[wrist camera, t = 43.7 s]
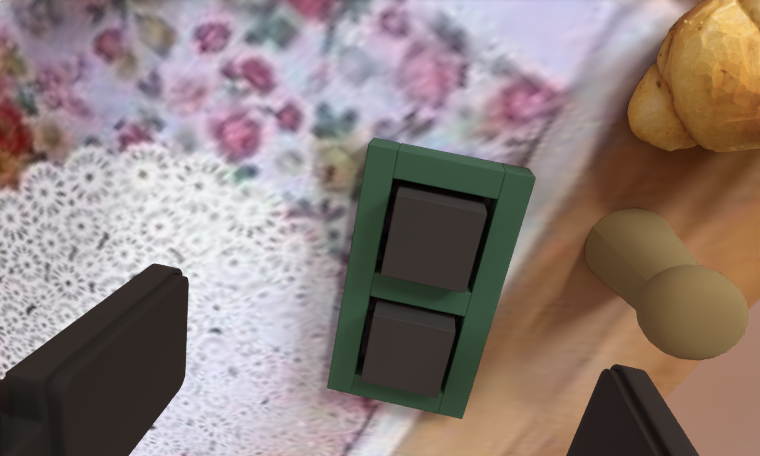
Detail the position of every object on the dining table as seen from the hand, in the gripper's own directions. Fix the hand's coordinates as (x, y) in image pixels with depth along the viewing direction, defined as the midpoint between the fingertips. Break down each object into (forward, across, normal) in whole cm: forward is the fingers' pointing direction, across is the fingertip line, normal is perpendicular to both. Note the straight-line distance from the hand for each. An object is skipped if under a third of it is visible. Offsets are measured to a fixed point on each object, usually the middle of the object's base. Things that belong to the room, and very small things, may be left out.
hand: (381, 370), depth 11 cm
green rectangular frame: (+25, -2, +10) cm, 27 cm away
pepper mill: (+26, -16, +4) cm, 30 cm away
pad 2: (+25, -2, +14) cm, 29 cm away
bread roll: (+26, -17, -9) cm, 32 cm away
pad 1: (+25, -2, +5) cm, 26 cm away
